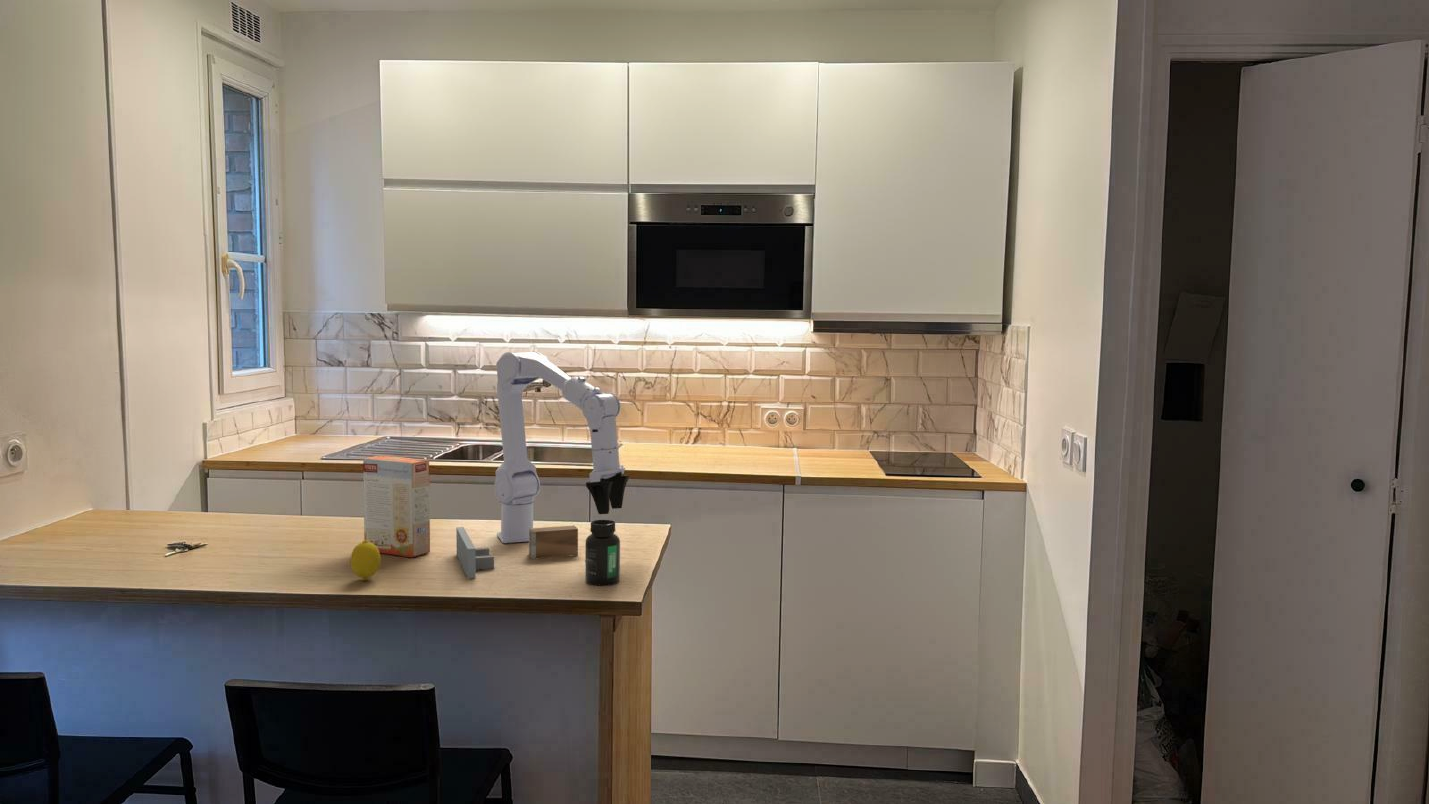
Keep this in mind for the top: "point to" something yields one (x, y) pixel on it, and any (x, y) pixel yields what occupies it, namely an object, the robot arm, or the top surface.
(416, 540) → the cracker box
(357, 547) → the lemon
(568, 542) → the block
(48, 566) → the top surface
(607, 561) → the supplement bottle
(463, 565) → the grey plank with pegs
